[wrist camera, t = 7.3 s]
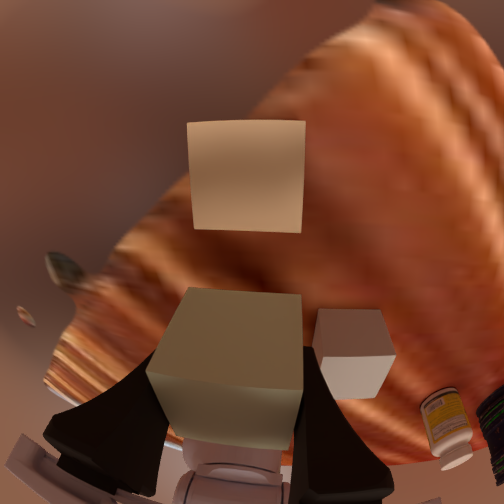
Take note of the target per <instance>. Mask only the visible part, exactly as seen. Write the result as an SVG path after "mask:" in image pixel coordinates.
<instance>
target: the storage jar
mask: <svg viewBox="0 0 504 504" xmlns="http://www.w3.org/2000/svg"><path fill="white" fill-rule="evenodd" d="M476 415H477V417H478V418H479V423H480V428H481V431H482V432H483V437H484V439H485V440H487V443H488V447H489V450H490V454H491V459H490V460H491V464H492V466H494V467H493V468H492V470H493V474H495V473H497V474H496V475H495V479H496V480H497V482H496V484H497V486H499V485H501V484H503V483H504V385H503V386H501V387H500V388H498V389H497V390H496V391H495V392H493V393H492V394H491V395H490V396H489V397H488V398H486V399H485V400H484V401H483V403H482V404H481V405H480V406H479V407H478V409H477V411H476Z"/></svg>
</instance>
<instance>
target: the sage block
mask: <svg viewBox="0 0 504 504" xmlns="http://www.w3.org/2000/svg"><path fill="white" fill-rule="evenodd" d="M145 371H146V373H147V376H148V378H149V380H150V383H151V385H152V387H153V390H154V392H155V394H156V396H157V398H158V400H159V402H160V405H161V407H162V409H163V411H164V413H165V415H166V417H167V419H168V421H169V423H170V425H171V427H172V429H173V430H174V432H175V434H176V436H180V437H185V438H189V439H194V440H200V441H205V442H211V443H217V444H224V445H231V446H239V447H248V448H259V449H273V450H288V448H289V445H290V441H291V437H292V434H293V430H294V426H295V422H296V418H297V414H298V410H299V406H300V402H301V398H302V393H303V330H302V300H301V294H281V293H263V292H247V291H233V290H219V289H206V288H194V287H188V289H187V291H186V293H185V295H184V297H183V299H182V300H181V302H180V304H179V306H178V308H177V310H176V312H175V314H174V315H173V317H172V319H171V321H170V323H169V325H168V327H167V329H166V331H165V333H164V335H163V337H162V339H161V341H160V343H159V344H158V346H157V348H156V350H155V352H154V354H153V356H152V358H151V360H150V362H149V364H148V366H147V368H146V370H145Z"/></svg>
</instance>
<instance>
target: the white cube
mask: <svg viewBox="0 0 504 504" xmlns="http://www.w3.org/2000/svg"><path fill="white" fill-rule="evenodd" d="M312 347H313V348H314V351H315V355H316V358H317V361H318V364H319V367H320V369H321V372H322V374H323V377H324V379H325V381H326V383H327V386H328V388H329V390H330V392H331V394H332V396H333V398H334V400H337V399H363V398H375V396H376V395H377V393H378V391H379V389H380V387H381V385H382V383H383V381H384V379H385V378H386V376H387V374H388V372H389V370H390V367H391V365H392V363H393V361H394V359H395V357H396V353H395V350H394V347H393V344H392V341H391V338H390V335H389V332H388V329H387V327H386V324H385V321H384V318H383V316H382V313H381V310H366V309H320V308H319V309H318V315H317V321H316V326H315V332H314V338H313V343H312Z"/></svg>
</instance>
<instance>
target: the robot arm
mask: <svg viewBox="0 0 504 504" xmlns="http://www.w3.org/2000/svg"><path fill="white" fill-rule="evenodd" d="M155 350H156V349H155ZM155 350H154V351H153V352H152V353H151V354H150V355H149V356H148V357H147V358H146V359H145V360H144V361H143V362H142V363H141V364H140V365H139V366H138V367H136V368H135V369H134V370H133V371H132V372H131V373H129V374H128V375H127V376H126V377H125V378H123V379H122V380H121V381H120V382H118V383H117V384H115V385H114V386H113V387H111V388H110V389H108V390H107V391H105V392H104V393H102V394H100V395H99V396H97V397H95V398H93V399H92V400H90V401H88V402H86V403H84V404H82V405H79V406H77V407H75V408H72V409H70V410H67V411H64V412H61V413H59V414H55V415H54V416H53V417H52V419H51V420H50V422H49V424H48V426H47V427H46V429H45V431H44V433H43V437H44V438H45V440H46V441H48V442H49V443H50V444H51V445H52V446H53V447H54V448H56V449H57V450H58V451H59V452H60V453H61V456H60V458H59V459H58V458H56V457H54V456H53V455H51V454H49V453H48V452H46V451H45V449H43V448H42V447H41V446H40V445H38V444H37V443H36V442H34V441H33V440H31V439H30V438H28V437H27V436H26V435H24V434H21V435H20V437H19V439H18V441H17V443H16V444H15V446H14V448H13V450H12V452H11V454H10V456H9V457H8V459H7V461H6V463H5V467H6V468H7V469H8V470H9V471H10V472H11V473H12V474H14V475H15V476H16V477H17V478H18V479H20V480H21V481H22V482H23V483H24V484H25V485H27V486H28V487H29V488H30V489H32V490H33V491H34V492H35V493H36V494H38V495H39V496H40V497H42V498H43V499H44V500H46V501H47V502H48V503H50V504H117V502H116V501H118V502H120V503H122V504H162V503H158V502H155V501H152V500H149V499H146V498H143V497H140V496H137V495H134V494H132V493H135V494H138V495H139V494H140V495H143V496H146V497H151V496H154V495H155V493H156V485H157V477H158V471H159V465H160V459H161V455H162V451H163V446H164V442H165V438H166V434H167V430H168V427H169V424H170V423H169V421H168V419H167V417H166V415H165V413H164V411H163V409H162V407H161V405H160V402H159V400H158V398H157V396H156V394H155V392H154V390H153V387H152V385H151V383H150V380H149V378H148V376H147V373H146V371H145V370H146V368H147V366H148V364H149V362H150V360H151V358H152V356H153V354H154V352H155ZM182 449H183V457H184V460H185V462H186V464H187V466H188V467H189V468H190V469H191V470H190V471H188V472H187V473H186V474H184V475H183V476H182V477H181V478H180V480H179V482H178V484H177V487H176V490H175V493H174V497H173V504H382V499H383V498H385V497H387V496H388V495H390V494H391V493H392V492H393V491H394V482H393V478H392V474H391V471H390V469H389V468H388V467H387V466H386V465H385V464H384V463H383V462H382V461H381V460H380V459H379V458H378V457H377V456H376V455H375V454H374V453H373V452H372V451H371V450H370V449H369V448H368V447H367V446H366V445H365V443H364V442H363V441H362V440H361V438H360V437H359V436H358V435H357V433H356V432H355V431H354V430H353V428H352V427H351V425H350V424H349V423H348V421H347V420H346V418H345V417H344V415H343V413H342V412H341V410H340V408H339V407H338V405H337V403H336V401H335V400H334V398H333V396H332V394H331V392H330V390H329V388H328V386H327V383H326V381H325V379H324V377H323V374H322V372H321V369H320V367H319V364H318V361H317V358H316V355H315V351H314V348H313V347H308V346H303V393H302V398H301V402H300V406H299V410H298V414H297V418H296V422H295V426H294V451H293V463H292V474H291V484H289V483H288V482H282V477H283V475H282V474H280V467H281V455H282V450H273V449H259V448H248V447H239V446H231V445H224V444H217V443H211V442H205V441H200V440H194V439H189V438H185V437H184V440H183V447H182ZM418 504H441V498H440V497H438V498H435V499H432V500H428V501H425V502H422V503H418Z"/></svg>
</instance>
